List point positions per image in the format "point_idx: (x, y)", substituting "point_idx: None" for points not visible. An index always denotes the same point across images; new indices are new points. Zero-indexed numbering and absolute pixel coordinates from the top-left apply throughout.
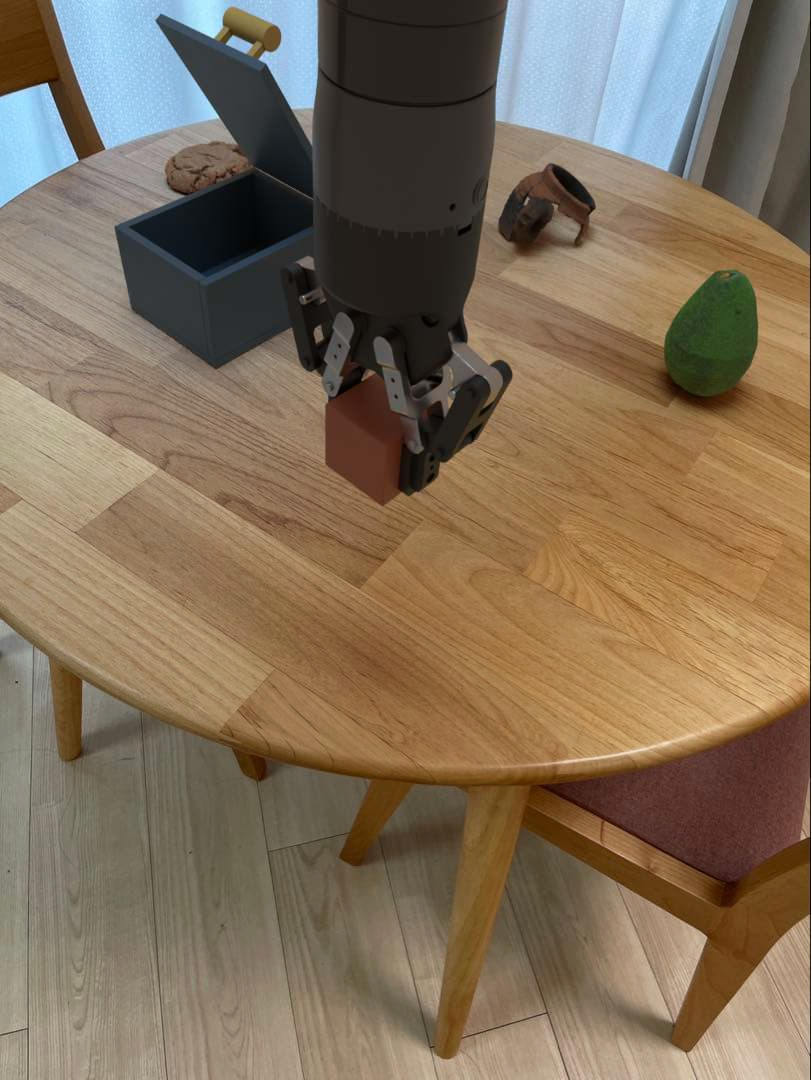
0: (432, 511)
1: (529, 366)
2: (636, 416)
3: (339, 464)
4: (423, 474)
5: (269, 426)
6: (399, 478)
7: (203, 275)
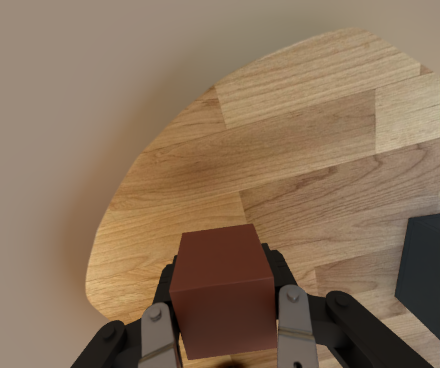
0: None
1: None
2: None
3: (236, 233)
4: (158, 285)
5: (354, 216)
6: None
7: None
